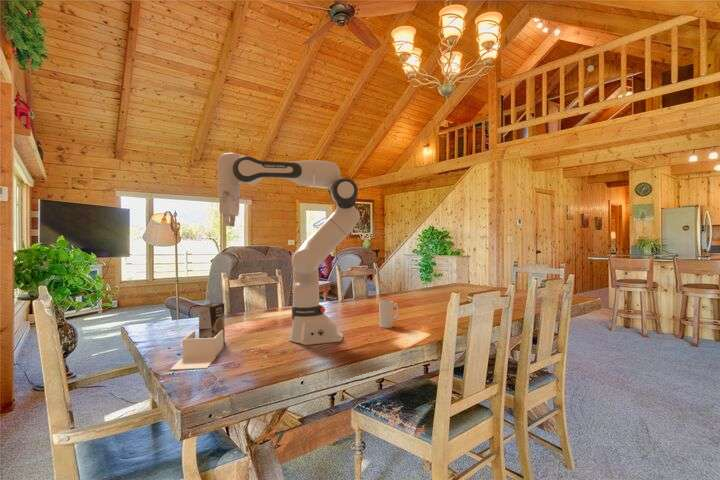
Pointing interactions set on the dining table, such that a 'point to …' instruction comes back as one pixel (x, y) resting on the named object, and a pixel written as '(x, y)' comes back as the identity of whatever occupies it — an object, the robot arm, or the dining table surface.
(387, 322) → the mug
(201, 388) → the dining table surface
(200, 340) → the box
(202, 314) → the coffee box
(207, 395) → the dining table surface
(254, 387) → the dining table surface
